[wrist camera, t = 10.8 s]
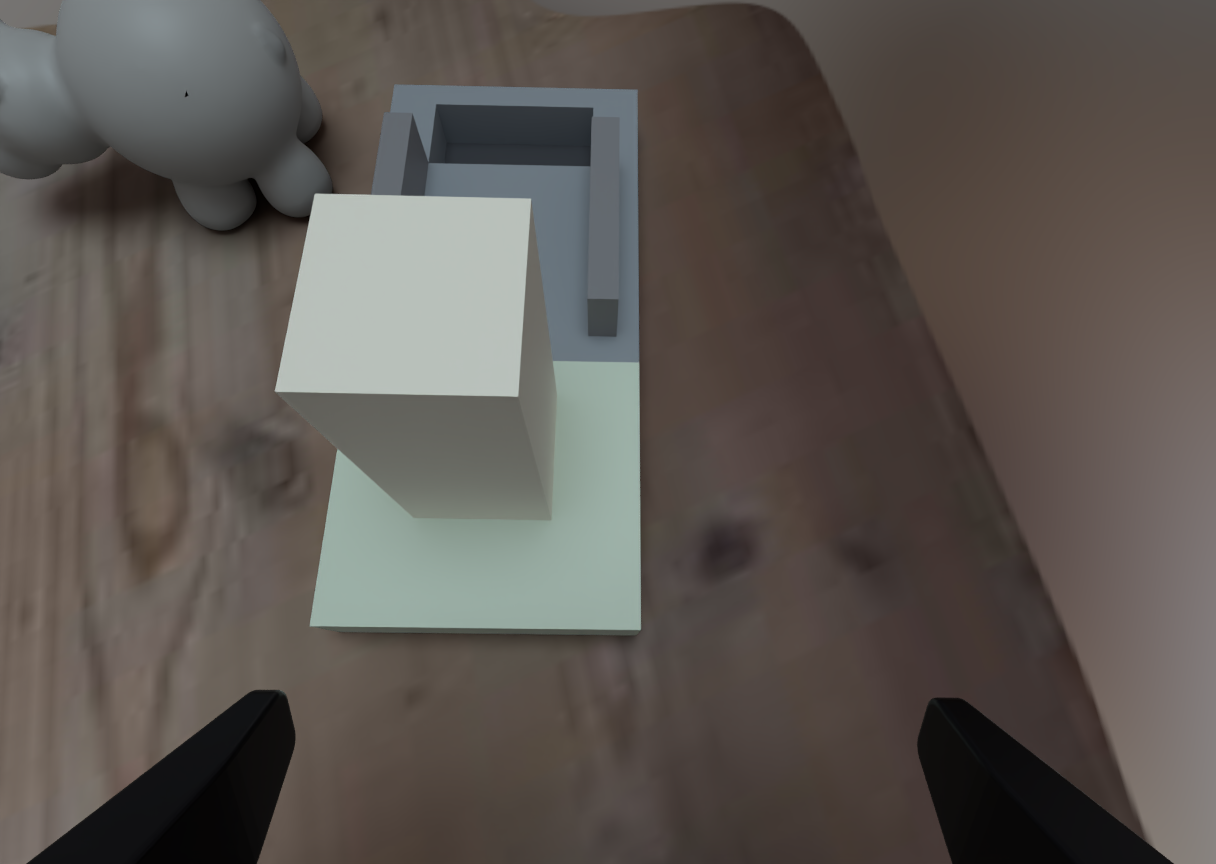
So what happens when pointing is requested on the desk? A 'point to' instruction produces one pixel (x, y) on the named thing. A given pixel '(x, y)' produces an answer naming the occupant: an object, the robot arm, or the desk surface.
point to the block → (428, 351)
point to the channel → (583, 366)
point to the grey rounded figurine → (166, 102)
